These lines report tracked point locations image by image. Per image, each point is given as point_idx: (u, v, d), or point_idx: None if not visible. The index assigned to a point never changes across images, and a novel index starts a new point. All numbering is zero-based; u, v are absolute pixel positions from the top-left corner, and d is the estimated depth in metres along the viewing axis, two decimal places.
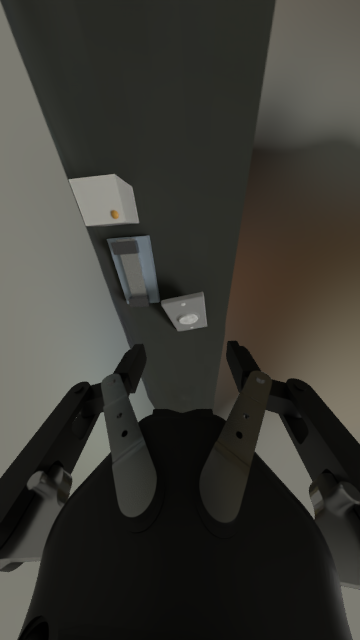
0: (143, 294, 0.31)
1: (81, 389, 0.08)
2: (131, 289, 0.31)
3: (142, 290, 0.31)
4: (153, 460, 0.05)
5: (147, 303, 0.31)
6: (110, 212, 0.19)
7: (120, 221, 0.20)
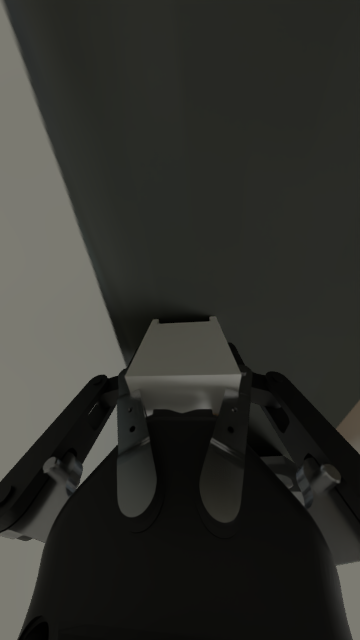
0: None
1: (100, 381, 0.09)
2: None
3: None
4: (156, 462, 0.05)
5: None
6: None
7: None
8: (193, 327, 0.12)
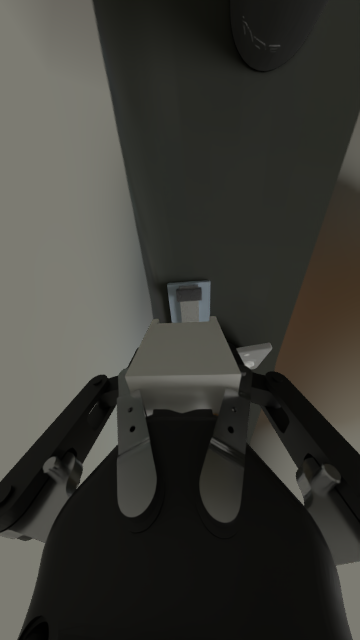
0: None
1: (100, 381, 0.09)
2: None
3: None
4: (156, 462, 0.05)
5: None
6: None
7: None
8: (193, 327, 0.12)
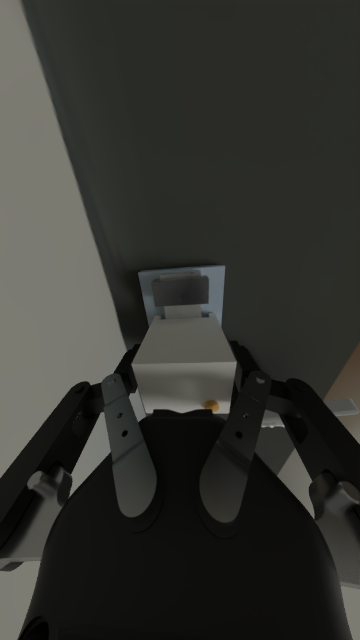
0: None
1: (81, 389, 0.08)
2: None
3: None
4: (153, 460, 0.05)
5: None
6: (203, 403, 0.10)
7: (218, 412, 0.10)
8: (193, 322, 0.12)
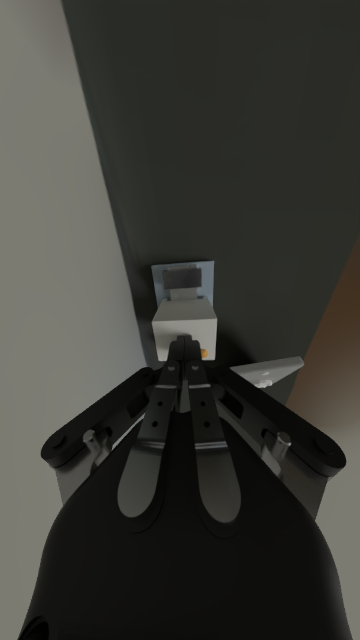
0: None
1: (147, 373, 0.09)
2: None
3: None
4: (164, 472, 0.05)
5: None
6: None
7: (207, 358, 0.15)
8: (191, 302, 0.17)
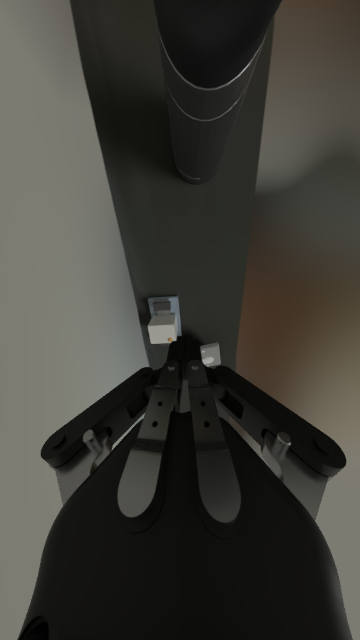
0: None
1: (147, 373, 0.09)
2: None
3: None
4: (164, 472, 0.05)
5: None
6: (167, 338, 0.33)
7: None
8: (167, 316, 0.36)
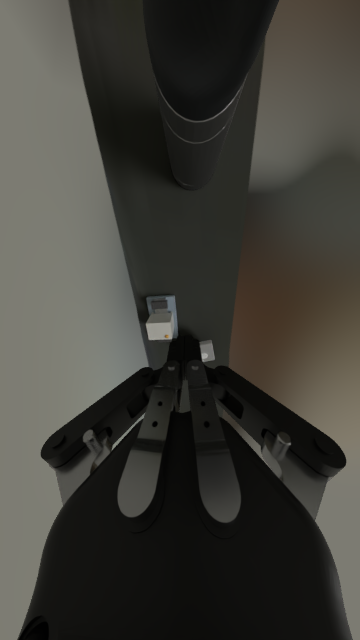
0: None
1: (147, 373, 0.09)
2: None
3: None
4: (164, 473, 0.05)
5: (170, 339, 0.42)
6: (164, 335, 0.36)
7: (169, 338, 0.36)
8: (164, 314, 0.38)
